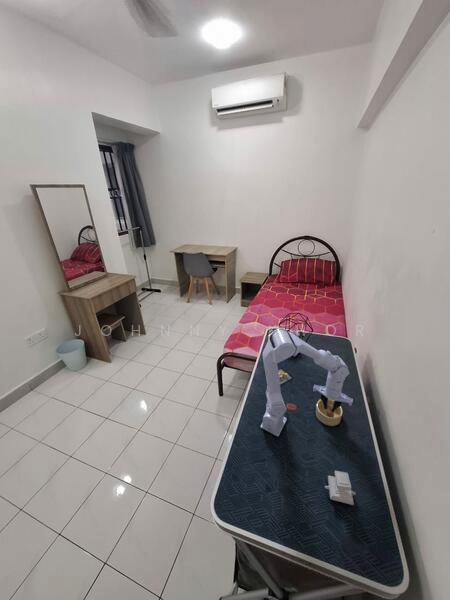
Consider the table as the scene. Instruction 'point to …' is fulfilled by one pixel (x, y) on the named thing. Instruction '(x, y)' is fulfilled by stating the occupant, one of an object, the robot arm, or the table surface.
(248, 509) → the table surface
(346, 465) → the table surface
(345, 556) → the table surface
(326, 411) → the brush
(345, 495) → the stamp
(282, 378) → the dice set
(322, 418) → the yellow round bowl
